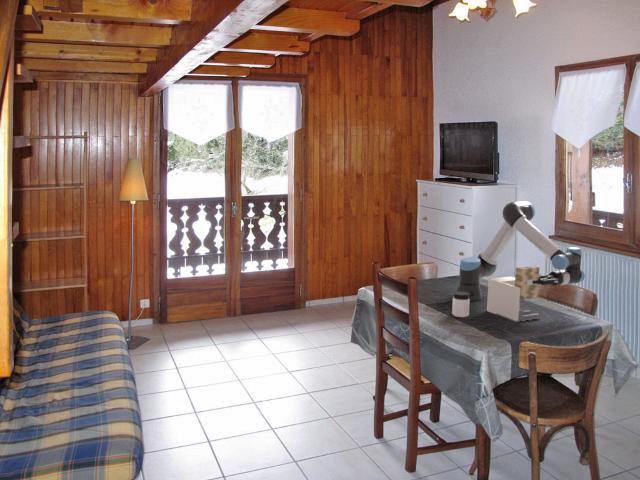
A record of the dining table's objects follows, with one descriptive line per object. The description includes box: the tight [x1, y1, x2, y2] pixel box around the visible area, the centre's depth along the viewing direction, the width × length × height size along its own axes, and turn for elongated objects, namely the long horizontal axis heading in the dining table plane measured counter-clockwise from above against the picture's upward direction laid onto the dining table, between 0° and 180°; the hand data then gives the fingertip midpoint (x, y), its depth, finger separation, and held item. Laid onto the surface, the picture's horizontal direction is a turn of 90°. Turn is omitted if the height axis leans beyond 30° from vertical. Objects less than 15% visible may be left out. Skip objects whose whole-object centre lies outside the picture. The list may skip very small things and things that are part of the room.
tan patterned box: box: [514, 266, 540, 300], centre depth 330 cm, size 12×4×16 cm, turn 114°
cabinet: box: [486, 276, 540, 323], centre depth 339 cm, size 16×23×18 cm, turn 24°
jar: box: [451, 291, 471, 318], centre depth 337 cm, size 9×8×12 cm
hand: (524, 281), depth 329 cm, fingers closed on tan patterned box, 4 cm apart
